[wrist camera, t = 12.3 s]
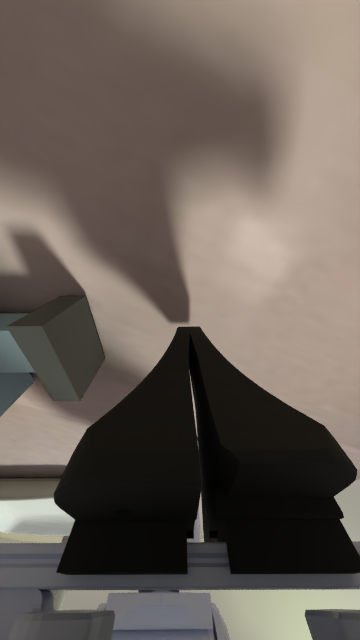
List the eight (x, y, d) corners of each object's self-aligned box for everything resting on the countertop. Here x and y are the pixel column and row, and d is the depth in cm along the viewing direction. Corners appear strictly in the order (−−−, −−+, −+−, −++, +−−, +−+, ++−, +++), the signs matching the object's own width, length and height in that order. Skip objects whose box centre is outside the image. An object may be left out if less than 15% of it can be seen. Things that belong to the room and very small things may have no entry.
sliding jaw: (112, 380, 13) (92, 425, 10) (-1, 381, 13) (-55, 425, 10) (71, 251, 8) (10, 263, 5) (-108, 252, 8) (-270, 265, 5)
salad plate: (-53, 468, 23) (-87, 503, 20) (91, 467, 23) (78, 502, 20) (19, 509, 34) (4, 536, 31) (119, 509, 34) (113, 536, 31)
